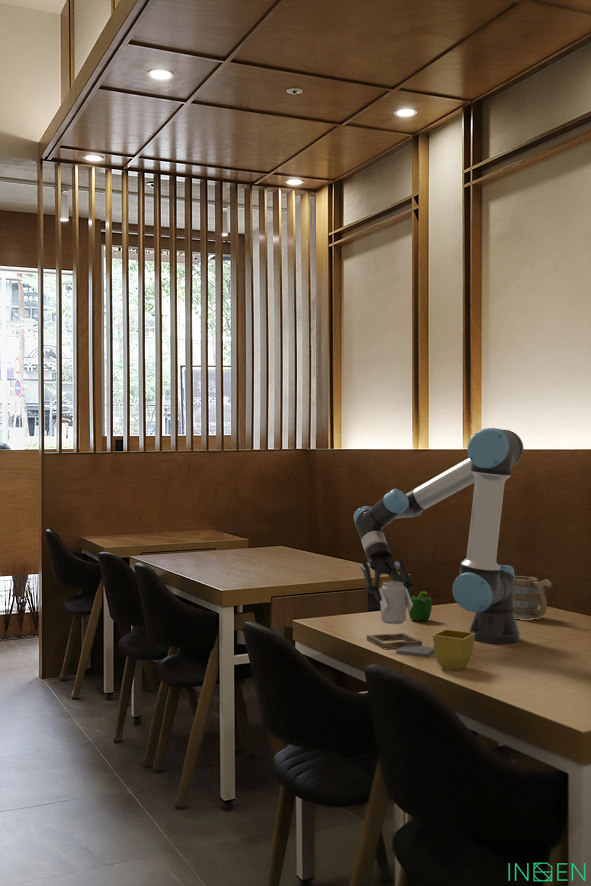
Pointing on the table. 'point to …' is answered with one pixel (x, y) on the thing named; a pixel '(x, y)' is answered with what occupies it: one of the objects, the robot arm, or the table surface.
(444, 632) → the flower pot
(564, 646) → the table surface
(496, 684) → the table surface
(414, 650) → the slate coaster
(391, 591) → the white jar
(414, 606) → the bell pepper
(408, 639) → the walnut frame
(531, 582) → the tankard
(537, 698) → the table surface
